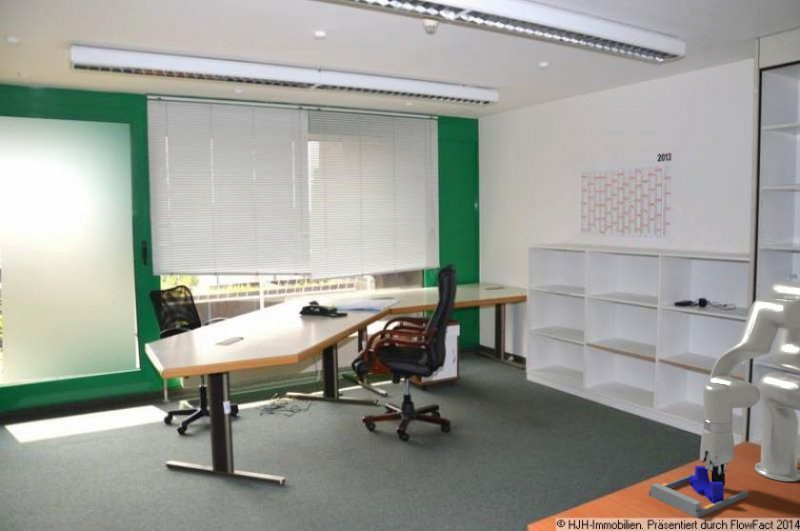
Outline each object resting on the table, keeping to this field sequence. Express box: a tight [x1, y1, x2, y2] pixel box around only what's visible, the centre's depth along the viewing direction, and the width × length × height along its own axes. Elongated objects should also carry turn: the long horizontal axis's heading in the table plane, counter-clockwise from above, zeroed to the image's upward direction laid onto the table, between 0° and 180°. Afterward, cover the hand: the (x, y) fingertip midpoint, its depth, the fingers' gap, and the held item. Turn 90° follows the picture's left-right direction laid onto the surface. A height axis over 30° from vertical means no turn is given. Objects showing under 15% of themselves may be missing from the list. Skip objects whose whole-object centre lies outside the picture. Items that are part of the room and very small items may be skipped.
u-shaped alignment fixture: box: [648, 472, 749, 519], centre depth 174 cm, size 23×16×4 cm
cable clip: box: [689, 465, 725, 504], centre depth 174 cm, size 12×4×6 cm, turn 175°
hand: (718, 484), depth 178 cm, fingers closed
